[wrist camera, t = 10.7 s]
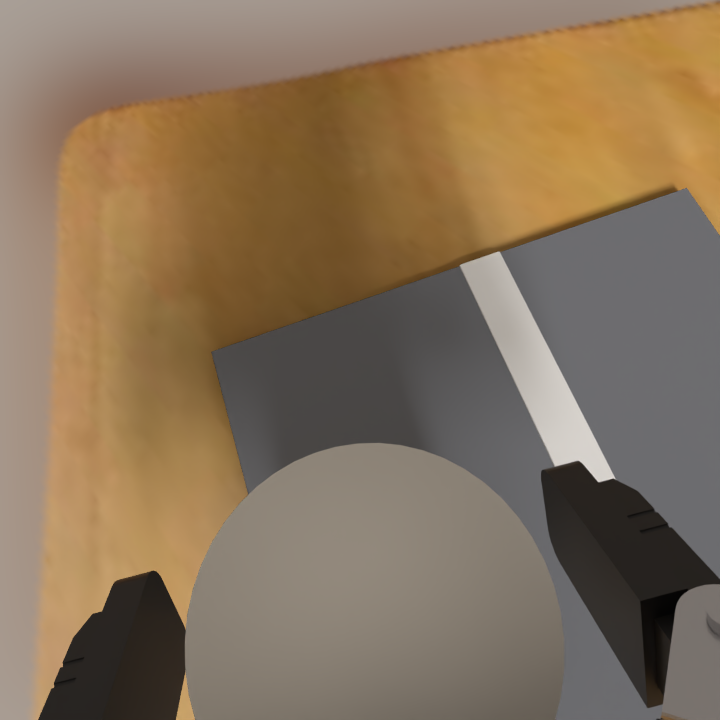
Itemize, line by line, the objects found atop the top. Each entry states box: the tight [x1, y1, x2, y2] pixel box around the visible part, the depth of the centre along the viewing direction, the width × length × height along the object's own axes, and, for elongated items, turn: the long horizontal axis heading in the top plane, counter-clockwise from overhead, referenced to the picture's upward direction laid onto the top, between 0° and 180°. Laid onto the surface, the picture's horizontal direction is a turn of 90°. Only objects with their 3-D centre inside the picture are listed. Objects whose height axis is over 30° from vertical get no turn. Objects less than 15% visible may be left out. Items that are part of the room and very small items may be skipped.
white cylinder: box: [185, 443, 564, 720], centre depth 12 cm, size 5×5×10 cm
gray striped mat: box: [212, 188, 720, 720], centre depth 18 cm, size 18×20×1 cm
